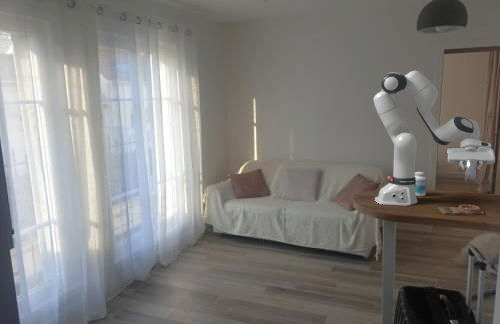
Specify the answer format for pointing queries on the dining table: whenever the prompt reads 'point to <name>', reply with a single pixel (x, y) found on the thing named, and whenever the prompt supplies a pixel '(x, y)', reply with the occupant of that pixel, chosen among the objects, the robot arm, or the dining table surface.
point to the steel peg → (470, 170)
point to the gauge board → (456, 212)
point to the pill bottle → (420, 184)
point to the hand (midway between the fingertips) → (470, 169)
